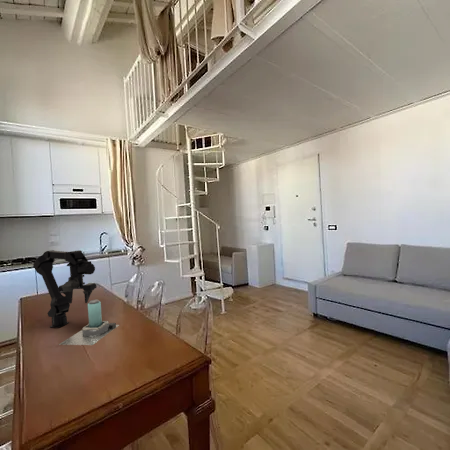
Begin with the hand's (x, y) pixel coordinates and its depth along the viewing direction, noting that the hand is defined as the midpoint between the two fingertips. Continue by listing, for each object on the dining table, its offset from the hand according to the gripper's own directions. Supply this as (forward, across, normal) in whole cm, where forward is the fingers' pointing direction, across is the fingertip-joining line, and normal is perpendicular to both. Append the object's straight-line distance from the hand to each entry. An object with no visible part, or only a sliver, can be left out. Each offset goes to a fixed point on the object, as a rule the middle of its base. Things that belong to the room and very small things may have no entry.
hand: (78, 303), depth 140 cm
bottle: (+10, +15, -8) cm, 19 cm away
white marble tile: (+13, +14, -10) cm, 22 cm away
